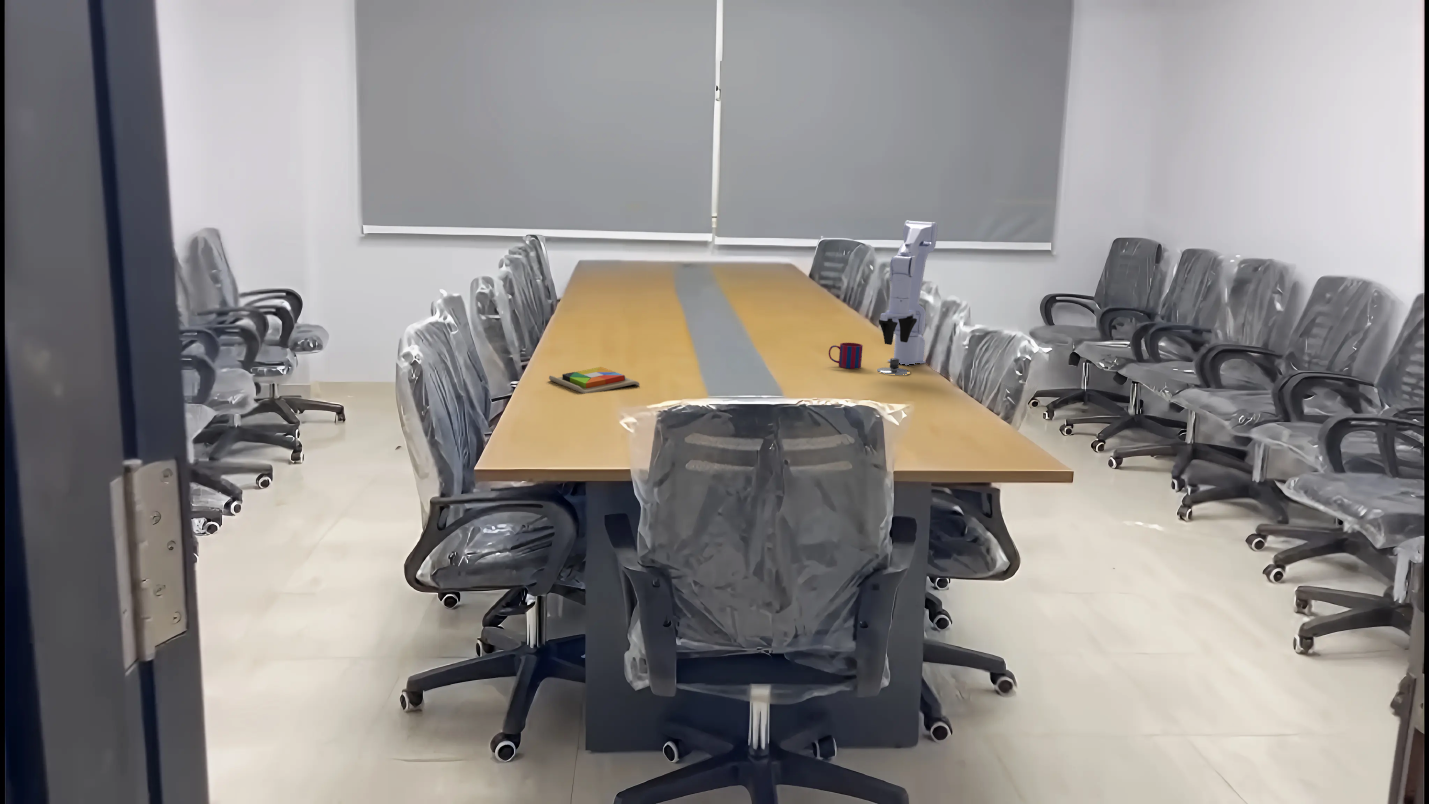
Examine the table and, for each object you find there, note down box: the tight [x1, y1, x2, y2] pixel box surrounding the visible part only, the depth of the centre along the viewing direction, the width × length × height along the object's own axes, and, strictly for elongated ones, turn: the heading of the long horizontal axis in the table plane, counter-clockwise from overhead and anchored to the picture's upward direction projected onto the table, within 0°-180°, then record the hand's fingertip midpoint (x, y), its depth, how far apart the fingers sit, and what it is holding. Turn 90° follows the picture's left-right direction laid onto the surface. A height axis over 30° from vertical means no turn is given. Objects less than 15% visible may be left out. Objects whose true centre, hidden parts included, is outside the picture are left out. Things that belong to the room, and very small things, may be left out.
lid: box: [876, 357, 910, 376], centre depth 322 cm, size 10×10×4 cm
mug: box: [828, 342, 864, 370], centre depth 327 cm, size 7×10×7 cm
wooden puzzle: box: [548, 366, 640, 394], centre depth 290 cm, size 18×19×4 cm
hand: (896, 343), depth 320 cm, fingers open, 7 cm apart
